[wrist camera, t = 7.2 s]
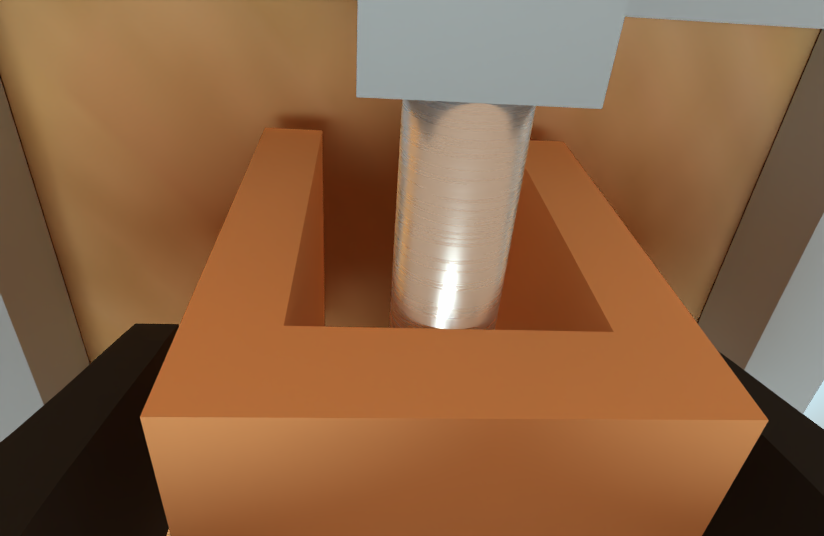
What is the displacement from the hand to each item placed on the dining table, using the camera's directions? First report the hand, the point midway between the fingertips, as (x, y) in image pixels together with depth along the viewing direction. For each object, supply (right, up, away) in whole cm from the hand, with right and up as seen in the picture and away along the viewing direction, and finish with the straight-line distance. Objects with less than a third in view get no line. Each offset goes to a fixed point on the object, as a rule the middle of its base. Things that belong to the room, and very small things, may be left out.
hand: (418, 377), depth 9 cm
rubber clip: (0, +2, +3) cm, 3 cm away
